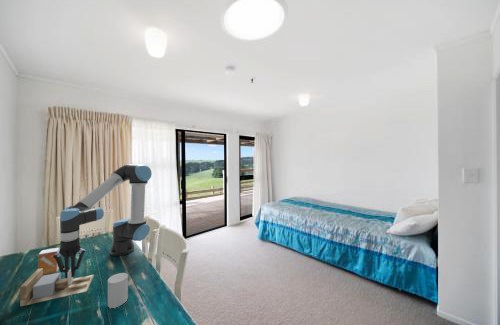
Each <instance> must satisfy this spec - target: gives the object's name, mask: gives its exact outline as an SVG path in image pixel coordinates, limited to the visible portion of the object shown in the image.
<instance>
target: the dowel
mask: <svg viewBox="0 0 500 325" xmlns="http://www.w3.org/2000/svg"><path fill="white" fill-rule="evenodd" d="M68 287H69V285H68V278H65V277H64V278H61V279H59V280H56V282H55V292H57V291H61V290H64V289H65V288H68Z"/></svg>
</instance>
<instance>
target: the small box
mask: <svg viewBox="0 0 500 325" xmlns="http://www.w3.org/2000/svg"><path fill="white" fill-rule="evenodd" d="M59 250H60V246H59V247H53V248H47V249H43V250H41V251H40V252H39V253H38V256H37V258H38V261H37V262H38V264H37V267H38V268H37V269H41V268H43V276H44V275H49V274H55V273H58V271H59V267H58V264H57V261H56V259H55V258H54V257H53V256H54V255H55V254H56V253H58V252H59Z"/></svg>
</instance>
